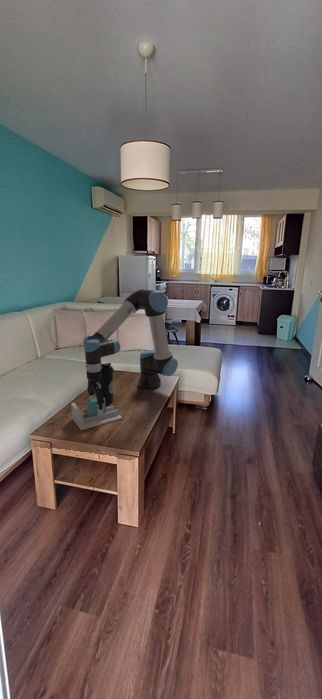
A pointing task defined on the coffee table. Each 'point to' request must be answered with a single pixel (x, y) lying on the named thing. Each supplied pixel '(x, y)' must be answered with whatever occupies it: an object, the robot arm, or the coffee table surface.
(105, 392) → the water bottle
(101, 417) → the track
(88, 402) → the teal sliding block
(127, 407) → the coffee table surface
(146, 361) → the robot arm
